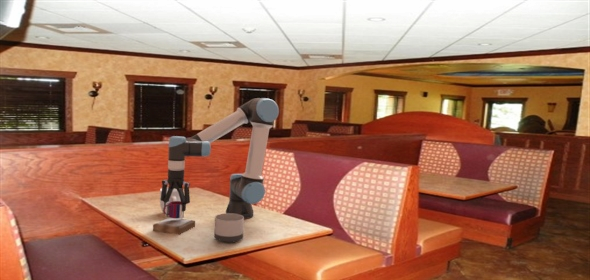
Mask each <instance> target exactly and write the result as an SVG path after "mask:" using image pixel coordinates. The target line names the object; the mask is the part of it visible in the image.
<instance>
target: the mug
mask: <svg viewBox="0 0 590 280" xmlns="http://www.w3.org/2000/svg"><path fill="white" fill-rule="evenodd" d="M159 189H160V190H159V205H160V209H161V211H162V213H163V214H164V212H163V208H164V201H161V192H162V188H159ZM167 191H168V187H167ZM166 194H167V192H166ZM173 201H181V200H180V197H179V193H178V191H177V189H175V188H174V189H173V191H172V194H171V196H170V199H169V201H168V202H173Z"/></svg>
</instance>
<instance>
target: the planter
mask: <svg viewBox="0 0 590 280" xmlns="http://www.w3.org/2000/svg"><path fill="white" fill-rule="evenodd" d="M244 223H245V219H244V216H242V215H239V214H233V213H226V212H225V213H219V214H216V215H215V216H214V232H213V233H214V235H213V237H214V239H215V240H217V241H219V242H222V243H226V244H232V243H236V242H239V241H241V240H243V238H244Z"/></svg>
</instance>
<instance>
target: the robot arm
mask: <svg viewBox="0 0 590 280" xmlns="http://www.w3.org/2000/svg"><path fill="white" fill-rule="evenodd" d="M279 113H280V110H279V105H278V104H277V102H276V101H274V100H273V99H270V98H266V97H261V98H260V97H257V98H252V99H250V100H249V101H247V102H245V103H244V104H242V105H240V106H239V107H237V108H236V111H234V112H232V113H231V114H229V115H227V116H225V117H223V118H222V119H220V120H219V121H217V122H214V123H213V124H212V125H210V126H208V127H206V128H205V129H203V130H202V131H200V132H198V133H196V134H195V135H193V136H191V137H187V138H186V137H185V136H178V135H176V136H175V135H173V136H170V137H169V140H168V141H169V142H168V158H167V159H168V161H167V162H168V163H167V168H168V170H167V179H164V180H162V181H161V185H162V187H161V189H162V192H161V201H164V206H165V205H170V202H168V201H169V199H170V196H171V194H172V191H173V189H174V188H175V189H177V191H178V193H179V197H180V200H181V205H180V219H185V212H186V210H187V205H188V204H190V202H191V198H190V185H191V183H190V182H186V181H185V167H186V165H185V164H186V163H185V161H186V157H189V158H190V157H193V158H194V157H197V158H198V157H201V158H202V157H204V158H205V157H209V156H210V155H211V151H212V148H211V147H212V146H211V143H213V142H214V141H216V140H218V139H219V138H221V137H223V136H225V135H227V134H228V133H231V131H233V130H235V129H236V128H238V127H240V126H241V125H244V124H248V123H250V125H252V130H251V135H250V142H249V147H248V148H249V149H248V154H247V158H246V159H247V160H246V165H245V170H244V171H245V172H243V173H232V174H231V175H230V178H229V179H230V180H229V200H228V204H227V207H226V210H225V213H233V214H239V215H242V216H244V220H245V219H250V218H253V217H254V209H253V205H254V204H258V203H259V202H260V201H262V200H263V198H264V196H265V195H266V188H265V186H264V180H265V178H264V176H263V175H262V174H263V169H264V163H265V156H266V151H267V146H268V139H269V133H270V129H272V128H273V127H274V122H275V120H277V118H278V117H279ZM167 188H168V191H167ZM166 192H167V194H166ZM165 213H166V214H169V206H166V207H165ZM164 217H166V218H168V216H167V215H164Z"/></svg>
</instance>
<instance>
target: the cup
mask: <svg viewBox="0 0 590 280" xmlns="http://www.w3.org/2000/svg"><path fill="white" fill-rule="evenodd" d="M180 205H181V201H173V202H170V205H165V206H164V208H163V212H164V213H163V212H162V213H163V214H165V215H167V217H168V218H169V217H170V218H175V219H177V218H180ZM166 206H169V214H166V213H165V207H166ZM165 215H164V216H165Z"/></svg>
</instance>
